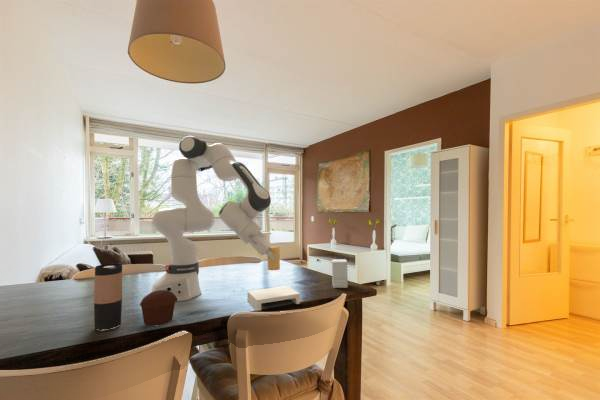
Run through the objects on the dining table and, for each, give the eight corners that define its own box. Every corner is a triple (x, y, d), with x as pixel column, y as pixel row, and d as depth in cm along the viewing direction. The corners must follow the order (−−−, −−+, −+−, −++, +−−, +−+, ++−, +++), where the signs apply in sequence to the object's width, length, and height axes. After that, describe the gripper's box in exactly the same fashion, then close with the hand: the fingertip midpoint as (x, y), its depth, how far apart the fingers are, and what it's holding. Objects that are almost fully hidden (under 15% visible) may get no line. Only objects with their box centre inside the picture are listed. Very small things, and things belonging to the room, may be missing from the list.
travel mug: (102, 322, 96) (103, 263, 97) (126, 321, 97) (127, 263, 97) (88, 332, 88) (89, 268, 89) (113, 331, 89) (114, 267, 90)
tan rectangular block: (270, 270, 113) (270, 248, 113) (265, 268, 118) (265, 246, 118) (281, 269, 115) (281, 247, 116) (277, 267, 120) (276, 246, 120)
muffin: (136, 329, 90) (136, 298, 90) (142, 317, 100) (142, 289, 101) (177, 324, 94) (177, 294, 95) (178, 313, 105) (178, 285, 105)
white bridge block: (257, 310, 106) (257, 300, 106) (247, 300, 118) (247, 291, 118) (300, 303, 114) (300, 293, 114) (287, 294, 126) (287, 285, 126)
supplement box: (346, 284, 143) (346, 259, 143) (347, 288, 136) (347, 261, 136) (332, 283, 144) (331, 258, 144) (332, 287, 136) (332, 261, 137)
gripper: (253, 229, 106) (280, 255, 107) (258, 226, 127) (280, 248, 127) (242, 241, 106) (268, 267, 106) (248, 237, 126) (270, 258, 126)
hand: (275, 257), depth 117 cm, fingers closed on tan rectangular block, 5 cm apart
